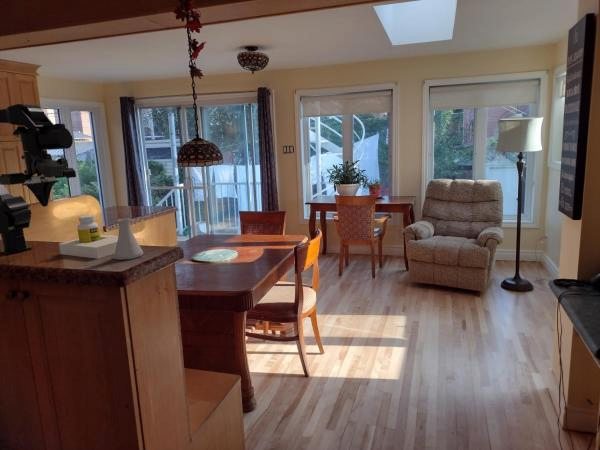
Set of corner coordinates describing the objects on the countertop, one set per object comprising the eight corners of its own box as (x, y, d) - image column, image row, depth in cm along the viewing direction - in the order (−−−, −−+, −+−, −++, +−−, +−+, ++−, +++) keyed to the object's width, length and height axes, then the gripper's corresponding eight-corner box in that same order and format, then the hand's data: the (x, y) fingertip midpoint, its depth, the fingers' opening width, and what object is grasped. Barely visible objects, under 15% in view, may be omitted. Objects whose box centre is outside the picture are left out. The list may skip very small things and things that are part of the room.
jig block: (60, 254, 123) (59, 243, 123) (98, 243, 134) (97, 234, 133) (98, 258, 115) (96, 247, 115) (135, 247, 126) (133, 237, 125)
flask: (134, 260, 111) (128, 221, 109) (108, 260, 113) (102, 222, 111) (148, 253, 118) (143, 216, 116) (124, 253, 120) (118, 217, 118)
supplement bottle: (94, 252, 123) (89, 217, 121) (76, 252, 124) (71, 218, 122) (105, 247, 128) (100, 214, 126) (88, 247, 129) (83, 214, 127)
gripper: (16, 151, 111) (28, 213, 114) (83, 147, 127) (92, 201, 130) (-7, 153, 116) (4, 211, 119) (60, 149, 132) (68, 201, 135)
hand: (45, 206), depth 126 cm, fingers closed
